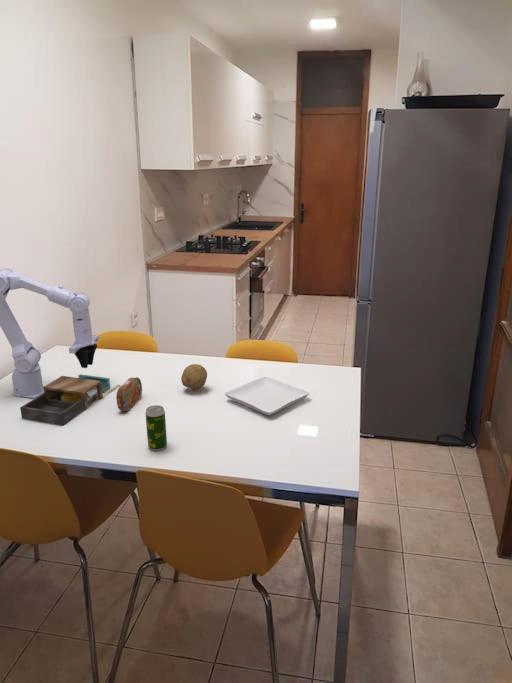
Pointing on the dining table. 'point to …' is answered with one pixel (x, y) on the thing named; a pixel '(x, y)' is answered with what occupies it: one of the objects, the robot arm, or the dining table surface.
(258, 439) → the dining table surface
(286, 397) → the salad plate
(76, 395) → the bread roll
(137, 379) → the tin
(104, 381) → the drawer
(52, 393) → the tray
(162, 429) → the beer can
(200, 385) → the brown potato
